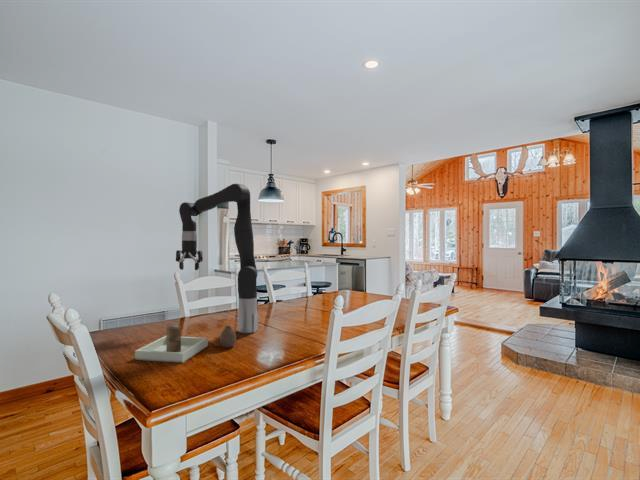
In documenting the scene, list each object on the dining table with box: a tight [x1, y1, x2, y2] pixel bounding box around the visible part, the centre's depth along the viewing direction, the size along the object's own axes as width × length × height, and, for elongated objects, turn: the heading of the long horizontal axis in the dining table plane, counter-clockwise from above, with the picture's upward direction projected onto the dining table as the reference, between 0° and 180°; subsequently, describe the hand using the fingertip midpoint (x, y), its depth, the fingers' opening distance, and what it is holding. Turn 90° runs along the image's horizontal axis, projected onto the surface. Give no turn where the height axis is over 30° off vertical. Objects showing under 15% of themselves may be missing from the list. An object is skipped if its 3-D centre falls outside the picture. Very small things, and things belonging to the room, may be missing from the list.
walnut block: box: [166, 324, 182, 352], centre depth 138 cm, size 5×5×10 cm
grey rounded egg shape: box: [219, 325, 237, 349], centre depth 146 cm, size 7×7×9 cm
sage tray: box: [134, 335, 209, 364], centre depth 138 cm, size 20×20×4 cm
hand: (189, 269), depth 180 cm, fingers open, 8 cm apart
